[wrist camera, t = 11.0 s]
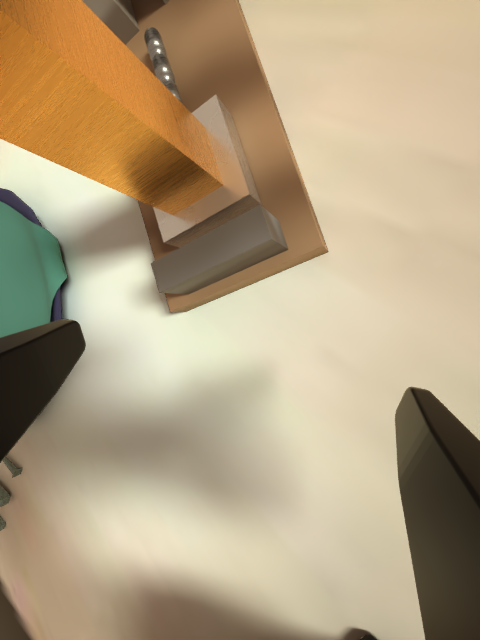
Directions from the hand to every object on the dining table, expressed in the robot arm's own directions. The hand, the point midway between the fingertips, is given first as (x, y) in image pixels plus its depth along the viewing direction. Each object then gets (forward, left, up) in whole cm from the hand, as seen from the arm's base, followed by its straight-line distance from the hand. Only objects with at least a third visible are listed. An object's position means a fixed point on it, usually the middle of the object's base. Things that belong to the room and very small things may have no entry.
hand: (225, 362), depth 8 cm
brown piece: (+7, +11, -8) cm, 15 cm away
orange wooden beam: (+6, +10, -7) cm, 14 cm away
